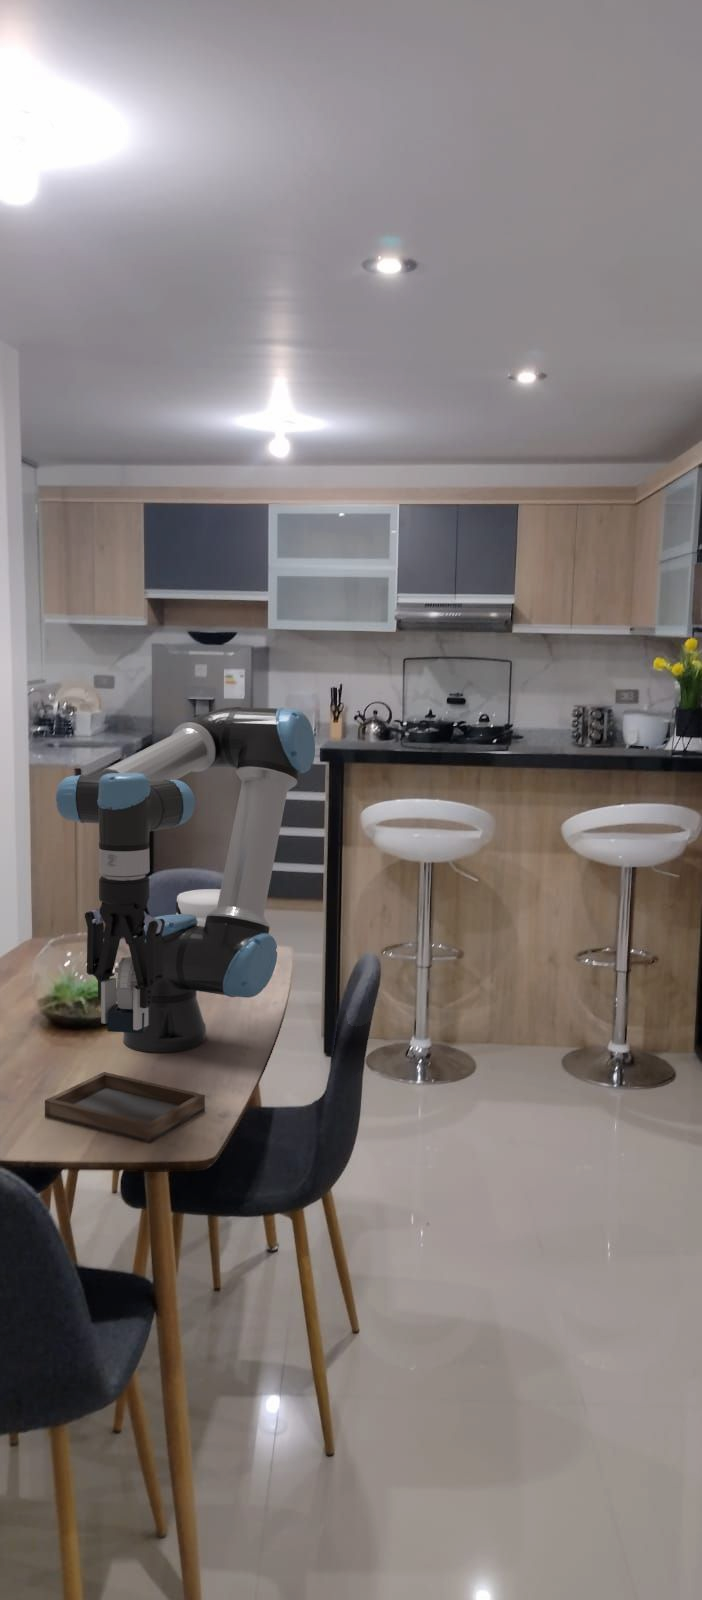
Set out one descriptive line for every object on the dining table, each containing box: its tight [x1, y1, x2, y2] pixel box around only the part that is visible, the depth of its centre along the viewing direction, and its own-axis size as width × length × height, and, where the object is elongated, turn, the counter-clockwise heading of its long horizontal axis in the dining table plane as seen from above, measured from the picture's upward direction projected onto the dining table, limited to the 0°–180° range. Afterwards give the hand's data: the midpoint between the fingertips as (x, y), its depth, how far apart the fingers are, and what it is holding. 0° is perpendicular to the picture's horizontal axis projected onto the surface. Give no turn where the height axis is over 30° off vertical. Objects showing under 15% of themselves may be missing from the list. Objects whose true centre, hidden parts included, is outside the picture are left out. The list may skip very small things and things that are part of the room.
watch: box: [107, 956, 150, 1033], centre depth 173 cm, size 6×8×11 cm
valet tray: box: [44, 1071, 206, 1144], centre depth 175 cm, size 14×20×3 cm
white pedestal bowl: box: [175, 888, 221, 927], centre depth 253 cm, size 17×17×18 cm
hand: (124, 1023), depth 173 cm, fingers closed on watch, 5 cm apart
